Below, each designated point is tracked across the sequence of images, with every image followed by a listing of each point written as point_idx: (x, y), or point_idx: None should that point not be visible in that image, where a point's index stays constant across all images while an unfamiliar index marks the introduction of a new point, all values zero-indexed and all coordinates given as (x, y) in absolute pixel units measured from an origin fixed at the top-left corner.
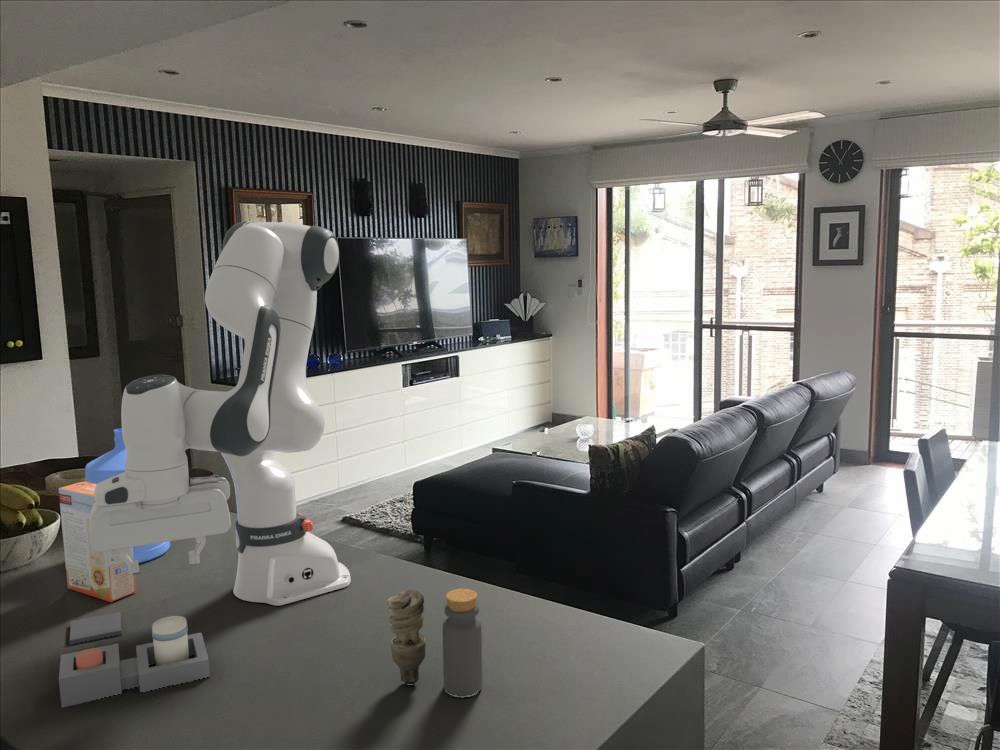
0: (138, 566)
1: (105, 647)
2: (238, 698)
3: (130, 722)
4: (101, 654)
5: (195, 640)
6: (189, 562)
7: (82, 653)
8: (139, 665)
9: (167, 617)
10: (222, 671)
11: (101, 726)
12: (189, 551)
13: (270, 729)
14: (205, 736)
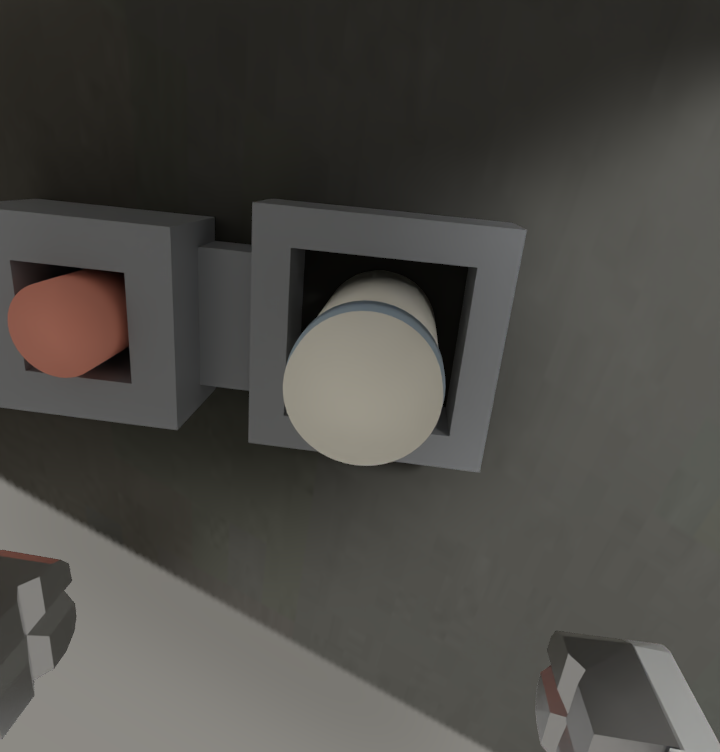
0: (23, 704)
1: (121, 240)
2: (505, 585)
3: (233, 537)
4: (103, 351)
5: (481, 295)
6: (550, 646)
7: (29, 314)
8: (254, 381)
9: (364, 324)
10: (519, 425)
11: (166, 515)
12: (603, 746)
13: (521, 727)
14: (385, 676)
